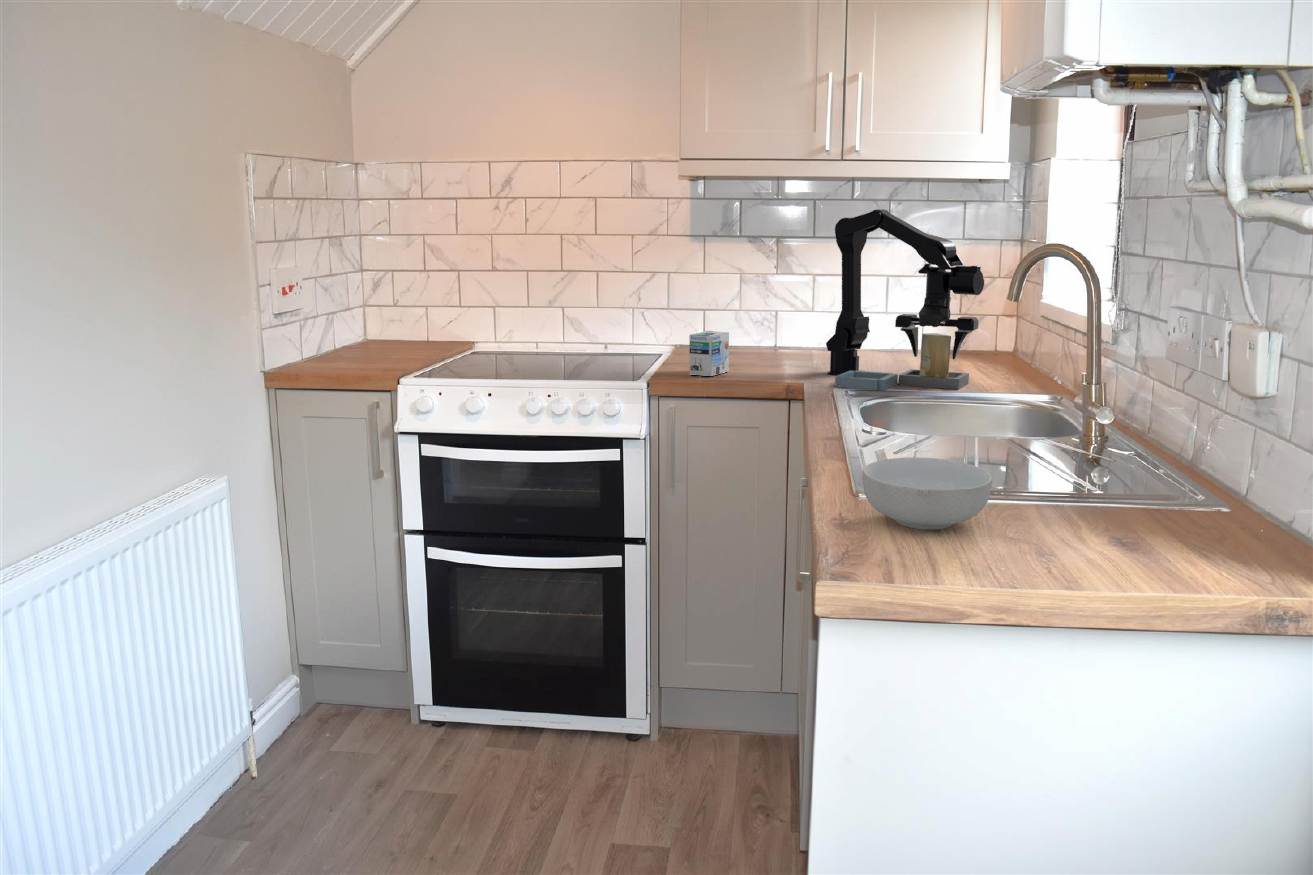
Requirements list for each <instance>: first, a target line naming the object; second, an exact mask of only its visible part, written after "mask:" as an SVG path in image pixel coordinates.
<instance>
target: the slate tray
mask: <svg viewBox="0 0 1313 875" xmlns="http://www.w3.org/2000/svg"><path fill="white" fill-rule="evenodd" d="M834 377H835V378H834V379H835V381H834V387H835V386H840V387H847V388H846V389H852V388H858V389H857V390H865V389H867V391H886V390H889V389H890V388H892V387H894V386H896V385H898V383H899V374H898V373H894V372H887V371H886V372H885V371H884V372H883V371H870V370H859V371H847V372H845V373H842V374H840V375H835V376H834ZM840 387H839V388H840Z"/></svg>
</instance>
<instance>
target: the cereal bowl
mask: <svg viewBox="0 0 1313 875" xmlns="http://www.w3.org/2000/svg"><path fill="white" fill-rule="evenodd" d="M992 484H993V478H992V476H991V474H990V473H989V472H988V471H986V470H985V469H983V468H980V467H979V466H977V465H973V464H970V463H966V462H961V461H956V460H952V459H951V460H950V459H945V458H936V457H919V456H918V457H894V458H887V459H881V460H876V461H873V462H871V463H869V464H867V465H866V466H864V467H863V470H862V486H863V487H862V488H863V489H862V490H863V492H864V493H863V494H864V495H865V498H866V500H867V502H868V503H869V504H870V506H872V507H873V509H874V510H876V511H878V513H880V514H882V515H884V516H886V517H888V518H891V519H892V520H894V521H895V522H896V523H897V524H900V525H901V526H904V527H907V528H911V529H917V530H929V531H931V530H932V531H934V530H943V529H946V528H950V527H952V526H953V525H955V524H959V523H962V522H966V521H968V520H971V519H972V518H974V517H975V516H977V515H979V513H981V511H983V510H984V508H985V507H986V505H987V504H988V502H989V498H990V496H991V491H992V487H993V486H992Z"/></svg>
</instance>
